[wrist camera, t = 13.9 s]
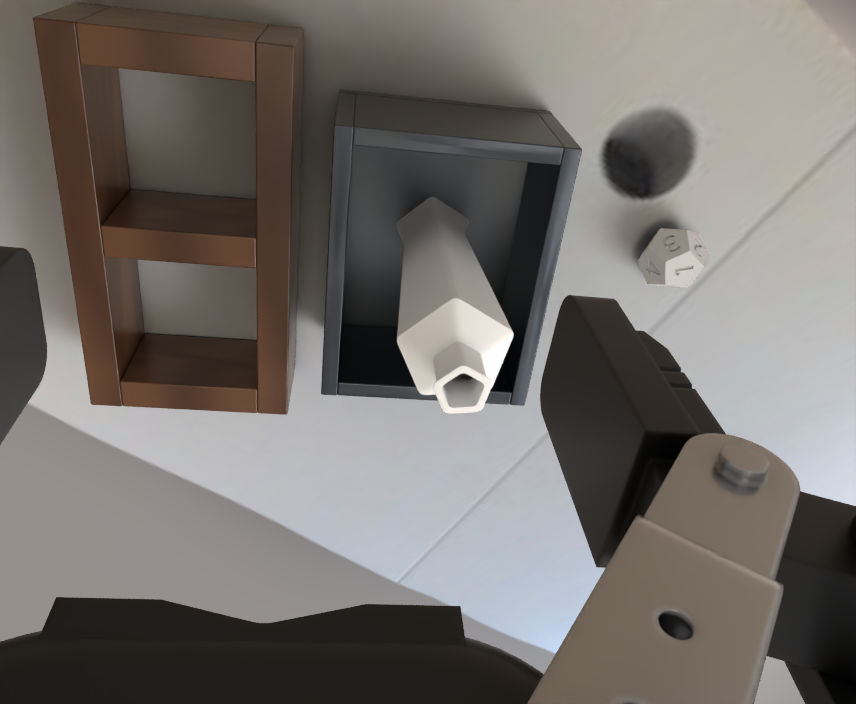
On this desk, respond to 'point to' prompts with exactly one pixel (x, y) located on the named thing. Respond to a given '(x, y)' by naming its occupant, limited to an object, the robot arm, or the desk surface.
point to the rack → (173, 205)
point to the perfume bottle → (448, 311)
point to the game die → (673, 258)
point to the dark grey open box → (459, 189)
